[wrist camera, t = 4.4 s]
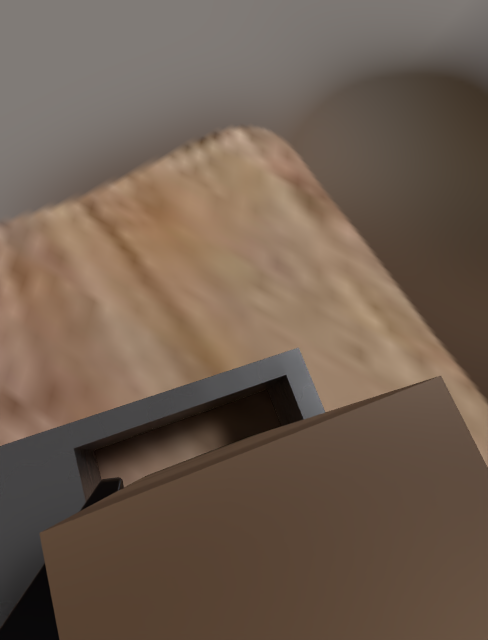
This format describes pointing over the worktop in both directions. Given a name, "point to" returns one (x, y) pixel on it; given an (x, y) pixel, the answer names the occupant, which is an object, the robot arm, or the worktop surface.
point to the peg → (292, 535)
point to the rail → (108, 428)
